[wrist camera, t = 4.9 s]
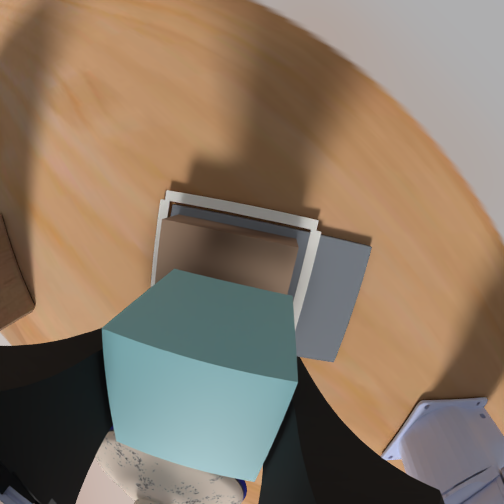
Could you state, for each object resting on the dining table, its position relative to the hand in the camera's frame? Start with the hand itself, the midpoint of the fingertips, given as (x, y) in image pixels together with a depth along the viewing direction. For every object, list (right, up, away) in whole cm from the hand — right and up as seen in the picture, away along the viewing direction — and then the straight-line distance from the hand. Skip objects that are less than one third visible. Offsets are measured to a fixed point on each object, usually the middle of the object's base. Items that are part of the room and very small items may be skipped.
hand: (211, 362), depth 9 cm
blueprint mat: (+2, +2, +8) cm, 9 cm away
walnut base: (0, +2, +8) cm, 8 cm away
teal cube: (0, +1, +2) cm, 2 cm away
